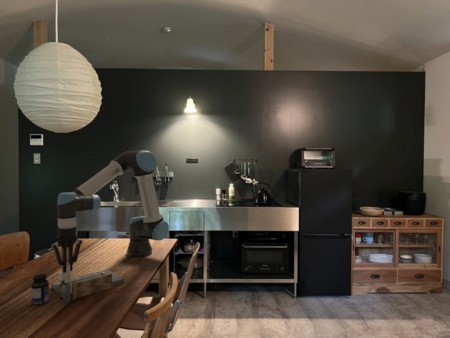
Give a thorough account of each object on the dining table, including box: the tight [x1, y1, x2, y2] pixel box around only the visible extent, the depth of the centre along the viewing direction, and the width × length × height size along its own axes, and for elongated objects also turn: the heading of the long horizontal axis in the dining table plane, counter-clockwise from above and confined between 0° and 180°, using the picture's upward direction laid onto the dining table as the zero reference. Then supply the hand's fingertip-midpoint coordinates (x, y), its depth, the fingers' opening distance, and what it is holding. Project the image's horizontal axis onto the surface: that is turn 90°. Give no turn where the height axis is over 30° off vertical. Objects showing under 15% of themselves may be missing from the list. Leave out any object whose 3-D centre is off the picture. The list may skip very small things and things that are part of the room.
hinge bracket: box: [62, 283, 72, 304], centre depth 126 cm, size 2×3×7 cm, turn 45°
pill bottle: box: [30, 273, 50, 307], centre depth 125 cm, size 6×6×11 cm
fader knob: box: [57, 270, 67, 284], centre depth 139 cm, size 2×4×5 cm, turn 45°
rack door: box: [71, 274, 113, 301], centre depth 134 cm, size 17×2×7 cm, turn 135°
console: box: [51, 268, 125, 299], centre depth 143 cm, size 26×18×3 cm
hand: (67, 278), depth 141 cm, fingers closed
